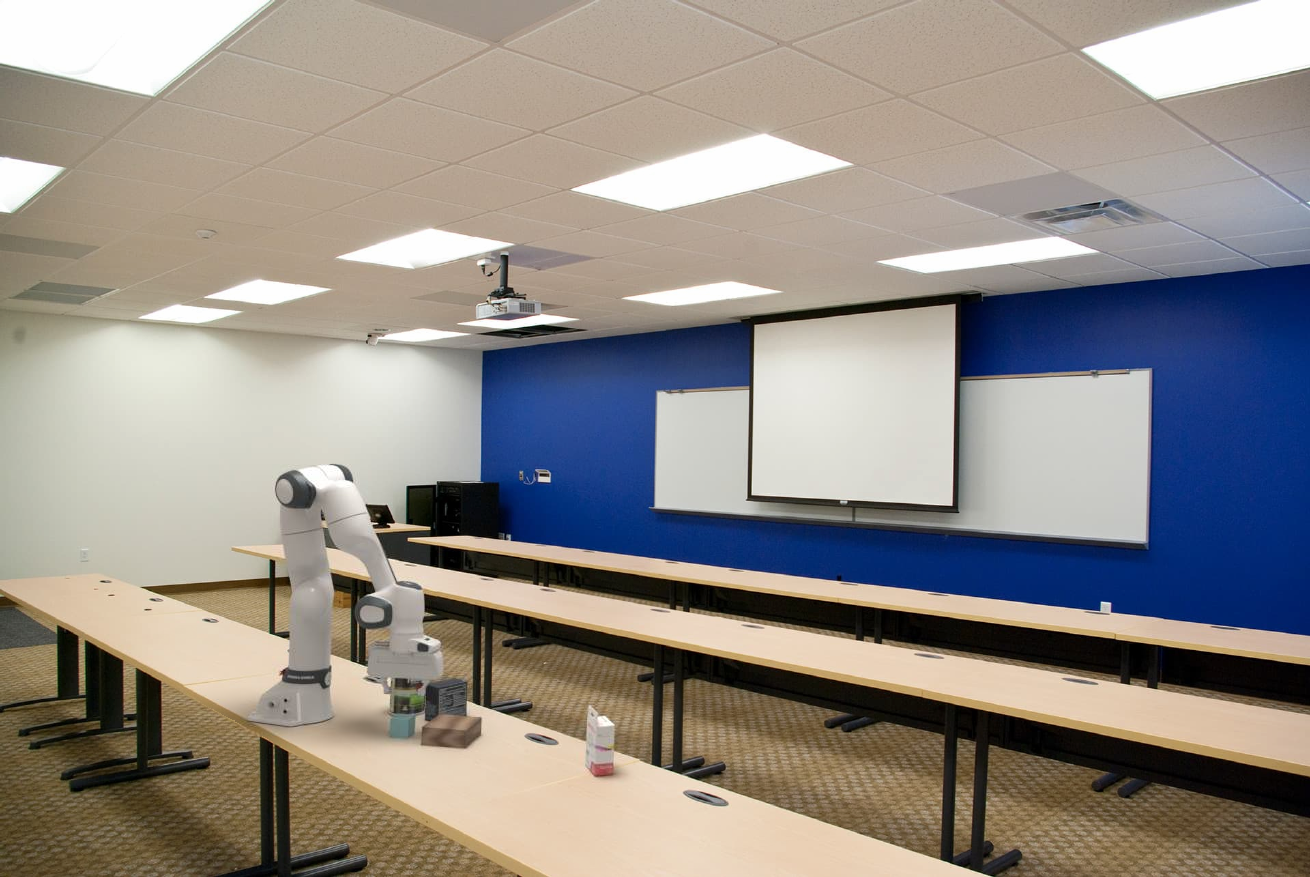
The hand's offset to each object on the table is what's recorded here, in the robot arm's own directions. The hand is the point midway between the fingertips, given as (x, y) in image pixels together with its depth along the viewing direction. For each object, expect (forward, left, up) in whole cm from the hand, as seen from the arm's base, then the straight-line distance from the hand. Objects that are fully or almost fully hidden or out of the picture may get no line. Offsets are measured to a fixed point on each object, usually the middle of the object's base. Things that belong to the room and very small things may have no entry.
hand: (404, 694), depth 229 cm
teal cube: (0, 0, -11) cm, 11 cm away
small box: (+6, +17, -11) cm, 21 cm away
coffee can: (-7, +21, -11) cm, 25 cm away
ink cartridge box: (+56, -16, -11) cm, 59 cm away
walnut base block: (+14, -1, -11) cm, 18 cm away
